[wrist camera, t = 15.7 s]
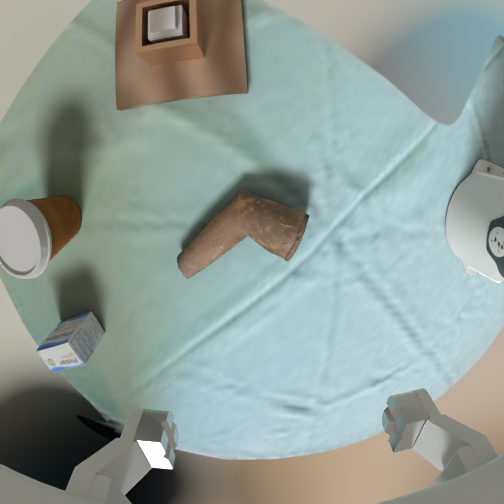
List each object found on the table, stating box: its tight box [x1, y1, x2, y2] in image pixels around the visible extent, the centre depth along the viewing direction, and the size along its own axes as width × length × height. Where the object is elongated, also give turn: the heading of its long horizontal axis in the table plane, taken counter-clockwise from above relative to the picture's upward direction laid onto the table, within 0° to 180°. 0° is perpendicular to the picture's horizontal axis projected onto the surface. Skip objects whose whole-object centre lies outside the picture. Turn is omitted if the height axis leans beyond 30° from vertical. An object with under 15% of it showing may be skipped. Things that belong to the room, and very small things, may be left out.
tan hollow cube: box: [135, 0, 205, 66], centre depth 27 cm, size 6×6×6 cm
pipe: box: [177, 189, 309, 279], centre depth 38 cm, size 6×17×10 cm
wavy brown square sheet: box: [115, 0, 247, 110], centre depth 27 cm, size 16×16×8 cm
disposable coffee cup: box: [0, 196, 82, 279], centre depth 33 cm, size 10×10×12 cm
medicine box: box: [37, 311, 105, 372], centre depth 40 cm, size 8×4×9 cm, turn 111°
